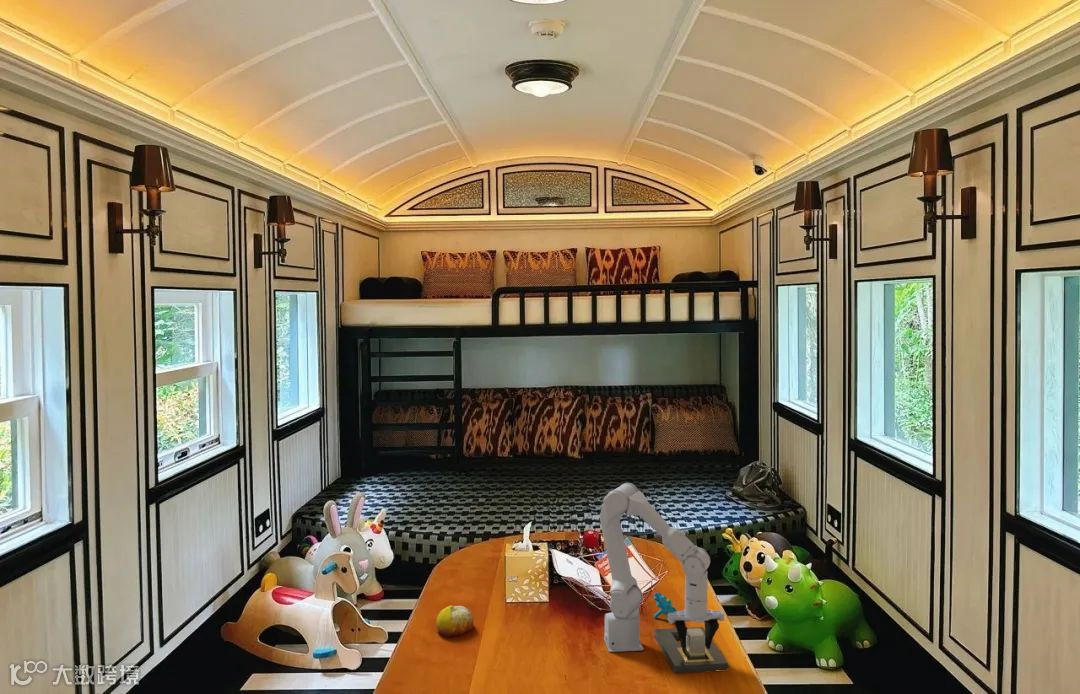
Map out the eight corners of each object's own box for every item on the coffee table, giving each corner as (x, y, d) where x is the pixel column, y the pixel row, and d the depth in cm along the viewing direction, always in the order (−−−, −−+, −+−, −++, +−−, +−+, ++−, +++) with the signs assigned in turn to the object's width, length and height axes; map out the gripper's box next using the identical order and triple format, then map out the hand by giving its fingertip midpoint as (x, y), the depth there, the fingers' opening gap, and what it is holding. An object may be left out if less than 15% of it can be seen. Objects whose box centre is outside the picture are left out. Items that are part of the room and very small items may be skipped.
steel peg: (689, 666, 181) (690, 636, 181) (685, 658, 185) (685, 628, 185) (704, 665, 182) (705, 635, 181) (699, 657, 186) (700, 628, 185)
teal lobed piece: (677, 624, 201) (653, 595, 204) (662, 636, 203) (639, 607, 206) (684, 613, 211) (661, 586, 215) (670, 625, 213) (647, 598, 216)
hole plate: (674, 673, 178) (674, 665, 177) (654, 636, 197) (654, 628, 197) (728, 670, 179) (728, 662, 179) (702, 633, 199) (702, 626, 199)
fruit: (466, 640, 195) (457, 612, 195) (434, 645, 198) (426, 618, 198) (482, 621, 205) (474, 595, 206) (451, 626, 209) (443, 600, 209)
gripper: (673, 604, 177) (672, 656, 178) (728, 602, 179) (727, 653, 180) (665, 593, 184) (665, 643, 185) (719, 591, 186) (718, 640, 187)
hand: (695, 647), depth 183 cm, fingers open, 6 cm apart
